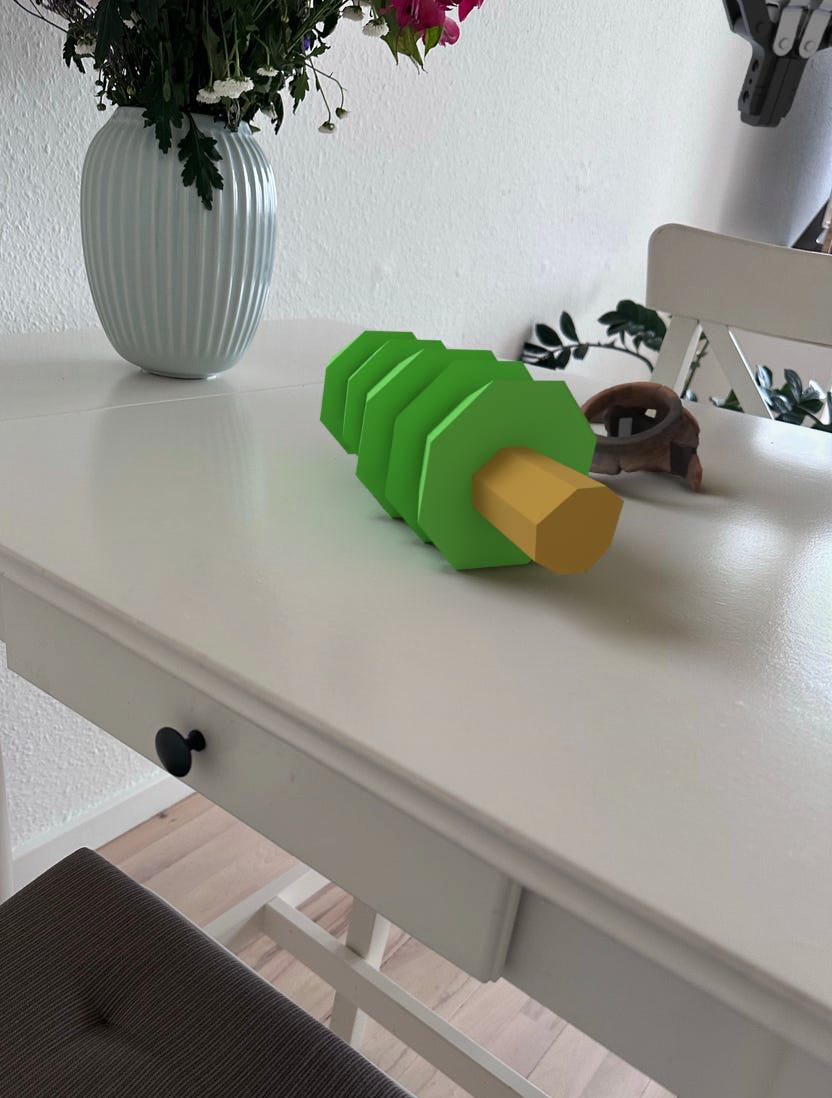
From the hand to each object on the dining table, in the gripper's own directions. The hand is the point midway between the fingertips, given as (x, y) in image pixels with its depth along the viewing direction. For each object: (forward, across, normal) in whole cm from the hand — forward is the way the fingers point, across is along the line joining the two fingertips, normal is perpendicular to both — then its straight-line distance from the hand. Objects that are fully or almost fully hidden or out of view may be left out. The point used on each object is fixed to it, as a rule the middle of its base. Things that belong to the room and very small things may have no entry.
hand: (758, 124), depth 59 cm
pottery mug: (+24, -3, -2) cm, 24 cm away
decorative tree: (+21, -21, -11) cm, 32 cm away
